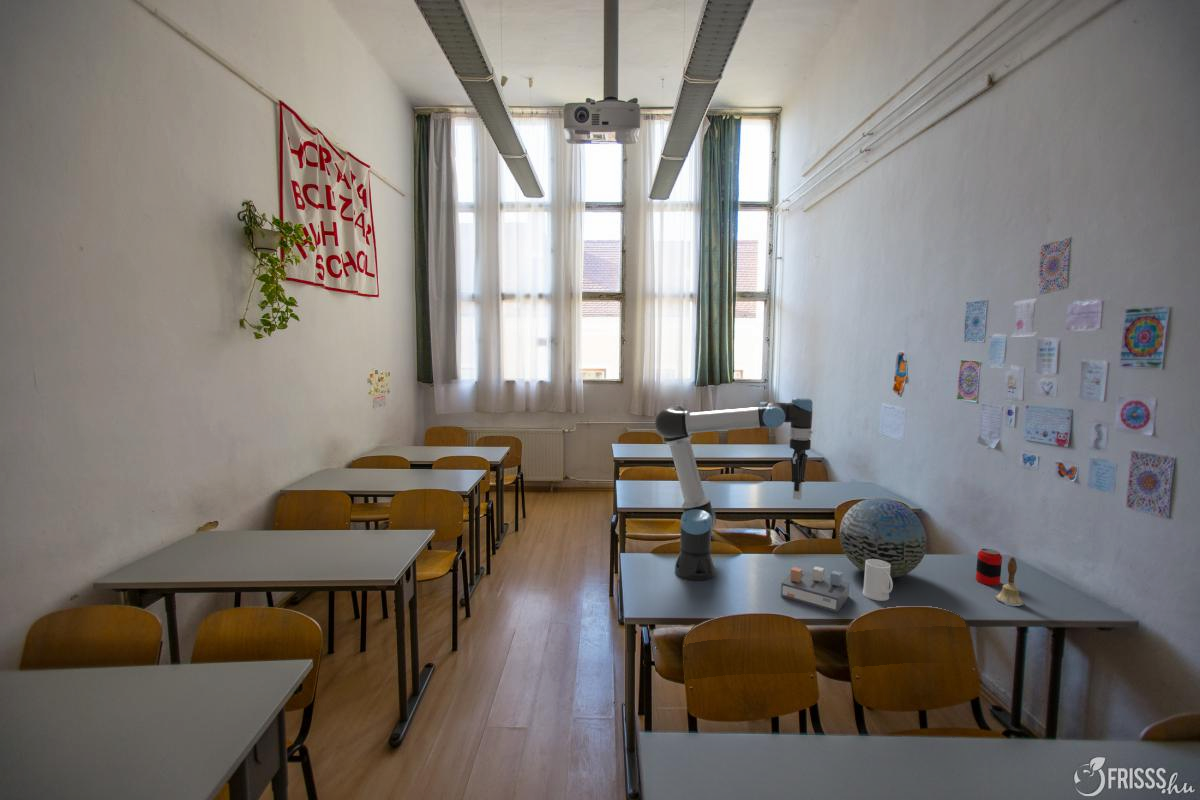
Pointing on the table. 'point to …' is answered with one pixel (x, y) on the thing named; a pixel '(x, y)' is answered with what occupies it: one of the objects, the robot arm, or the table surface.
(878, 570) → the mug
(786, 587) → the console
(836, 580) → the block
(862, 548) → the decorative globe
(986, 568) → the soda can
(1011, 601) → the hand bell
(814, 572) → the slider ivory
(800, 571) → the slider terracotta
